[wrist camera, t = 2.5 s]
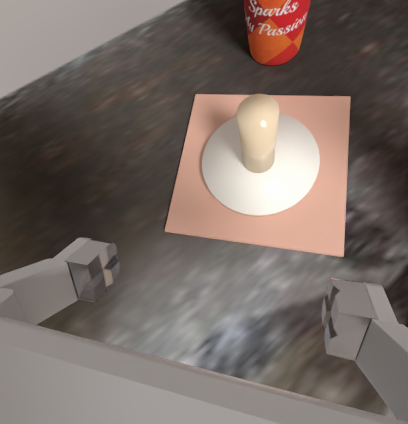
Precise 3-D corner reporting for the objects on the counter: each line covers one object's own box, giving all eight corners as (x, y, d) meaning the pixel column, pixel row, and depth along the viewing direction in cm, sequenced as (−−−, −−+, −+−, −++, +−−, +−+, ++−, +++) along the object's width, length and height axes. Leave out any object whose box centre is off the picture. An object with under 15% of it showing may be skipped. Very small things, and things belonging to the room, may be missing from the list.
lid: (194, 209, 27) (169, 174, 20) (212, 113, 30) (197, 52, 23) (314, 223, 24) (337, 188, 17) (321, 116, 27) (343, 49, 20)
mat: (165, 232, 27) (164, 231, 27) (196, 96, 32) (195, 94, 31) (342, 257, 23) (343, 256, 23) (349, 99, 28) (350, 96, 27)
